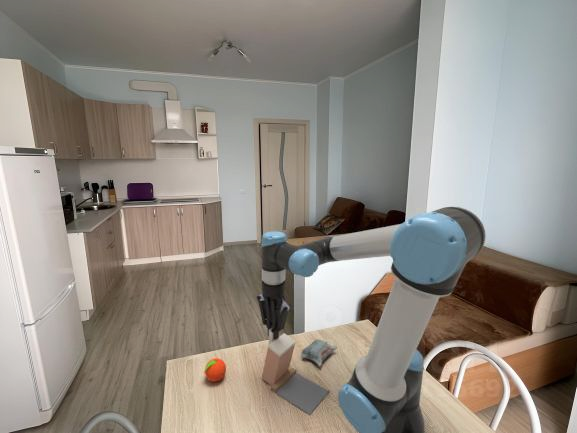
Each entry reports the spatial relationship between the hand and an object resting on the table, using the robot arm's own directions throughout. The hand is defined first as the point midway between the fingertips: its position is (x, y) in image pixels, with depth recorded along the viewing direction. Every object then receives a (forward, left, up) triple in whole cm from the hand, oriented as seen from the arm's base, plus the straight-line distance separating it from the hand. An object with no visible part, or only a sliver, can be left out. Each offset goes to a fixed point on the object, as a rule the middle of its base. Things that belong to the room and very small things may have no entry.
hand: (273, 346), depth 98 cm
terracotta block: (-1, 0, -11) cm, 11 cm away
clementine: (+14, +13, -12) cm, 23 cm away
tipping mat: (-12, 0, -11) cm, 16 cm away
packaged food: (-7, -18, -12) cm, 23 cm away
